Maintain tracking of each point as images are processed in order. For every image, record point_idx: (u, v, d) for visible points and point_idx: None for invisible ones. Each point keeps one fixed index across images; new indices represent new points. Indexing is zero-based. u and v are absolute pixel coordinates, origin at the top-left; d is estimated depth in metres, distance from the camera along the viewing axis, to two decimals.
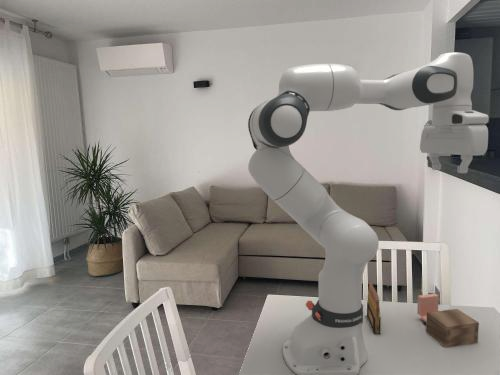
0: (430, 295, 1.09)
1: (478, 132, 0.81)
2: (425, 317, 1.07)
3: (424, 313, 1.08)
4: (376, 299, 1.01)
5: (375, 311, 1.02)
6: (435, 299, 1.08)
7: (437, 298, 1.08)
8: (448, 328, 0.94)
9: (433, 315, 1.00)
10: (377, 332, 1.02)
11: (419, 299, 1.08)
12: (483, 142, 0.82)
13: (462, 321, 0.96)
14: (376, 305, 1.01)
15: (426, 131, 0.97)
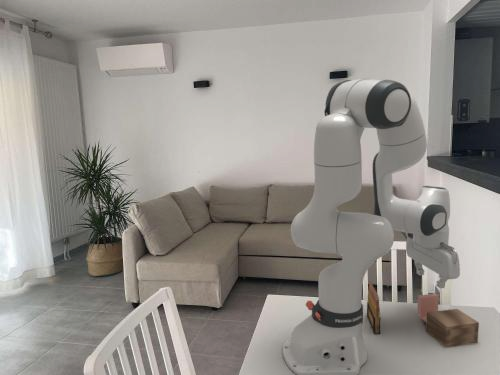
0: (430, 295, 1.09)
1: None
2: (425, 317, 1.07)
3: (424, 313, 1.08)
4: (376, 299, 1.01)
5: (375, 311, 1.02)
6: (435, 299, 1.08)
7: (437, 298, 1.08)
8: (448, 328, 0.94)
9: (433, 315, 1.00)
10: (377, 332, 1.02)
11: (419, 299, 1.08)
12: None
13: (462, 321, 0.96)
14: (376, 305, 1.01)
15: None
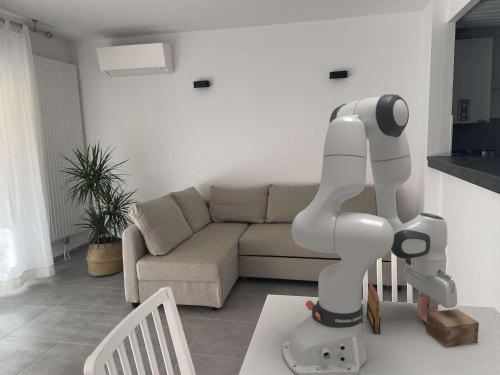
0: None
1: None
2: (425, 317, 1.07)
3: (424, 313, 1.08)
4: (376, 299, 1.01)
5: (375, 311, 1.02)
6: None
7: None
8: (448, 328, 0.94)
9: (433, 315, 1.00)
10: (377, 332, 1.02)
11: (419, 299, 1.08)
12: None
13: (462, 321, 0.96)
14: (376, 305, 1.01)
15: None
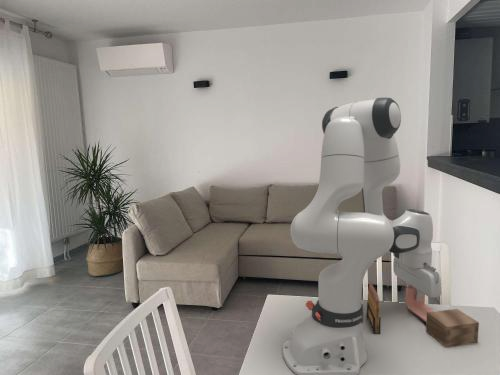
0: None
1: None
2: (412, 307, 1.13)
3: (411, 304, 1.14)
4: (376, 299, 1.01)
5: (375, 311, 1.02)
6: None
7: None
8: (448, 328, 0.94)
9: (433, 315, 1.00)
10: (377, 332, 1.02)
11: (407, 290, 1.14)
12: None
13: (462, 321, 0.96)
14: (376, 305, 1.01)
15: None
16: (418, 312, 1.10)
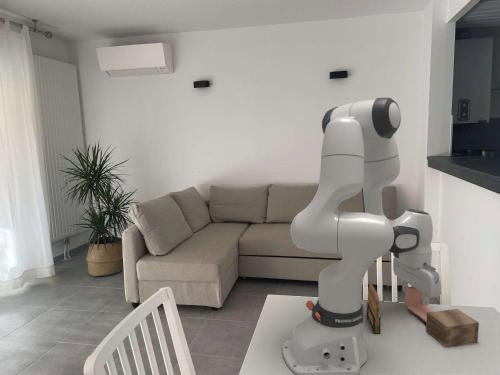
0: None
1: None
2: (412, 307, 1.13)
3: (411, 303, 1.14)
4: (376, 299, 1.01)
5: (375, 311, 1.02)
6: None
7: None
8: (448, 328, 0.94)
9: (433, 315, 1.00)
10: (377, 332, 1.02)
11: (406, 290, 1.14)
12: None
13: (462, 321, 0.96)
14: (376, 305, 1.01)
15: None
16: (418, 312, 1.10)
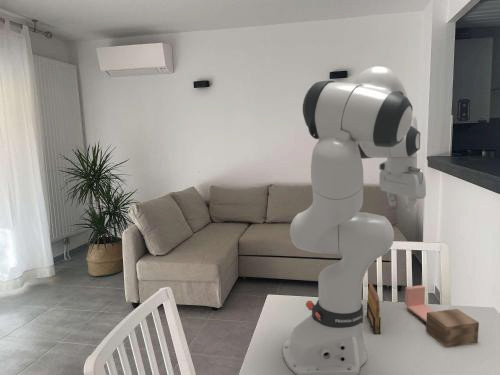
0: (417, 286, 1.15)
1: None
2: (412, 307, 1.13)
3: (411, 303, 1.14)
4: (376, 299, 1.01)
5: (375, 311, 1.02)
6: (422, 290, 1.14)
7: (423, 289, 1.14)
8: (448, 328, 0.94)
9: (433, 315, 1.00)
10: (377, 332, 1.02)
11: (406, 290, 1.14)
12: None
13: (462, 321, 0.96)
14: (376, 305, 1.01)
15: None
16: (418, 312, 1.10)
